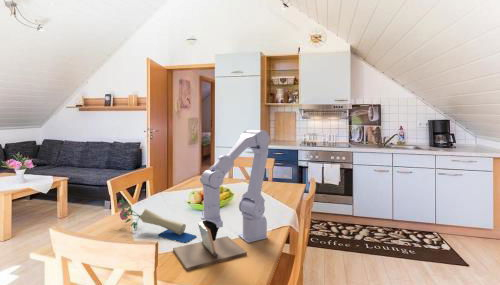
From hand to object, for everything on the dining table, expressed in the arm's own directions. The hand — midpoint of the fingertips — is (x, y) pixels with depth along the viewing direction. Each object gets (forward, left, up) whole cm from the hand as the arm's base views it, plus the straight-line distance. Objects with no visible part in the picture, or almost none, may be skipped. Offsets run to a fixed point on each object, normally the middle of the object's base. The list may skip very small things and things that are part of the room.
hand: (211, 240), depth 104 cm
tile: (+1, 0, +2) cm, 2 cm away
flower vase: (+16, -33, -5) cm, 37 cm away
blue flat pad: (+7, -20, -5) cm, 22 cm away
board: (+1, 0, -4) cm, 5 cm away
